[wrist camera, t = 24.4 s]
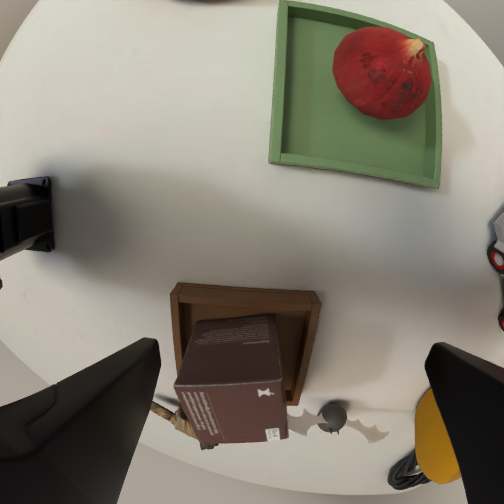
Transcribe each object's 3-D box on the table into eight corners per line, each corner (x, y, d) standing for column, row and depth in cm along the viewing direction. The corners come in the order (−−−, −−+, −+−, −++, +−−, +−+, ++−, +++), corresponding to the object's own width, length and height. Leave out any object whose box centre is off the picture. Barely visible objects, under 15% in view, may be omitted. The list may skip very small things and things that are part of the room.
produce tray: (268, 163, 17) (269, 161, 15) (277, 13, 14) (279, -1, 12) (424, 186, 17) (439, 189, 15) (421, 50, 14) (434, 42, 12)
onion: (393, 136, 16) (467, 123, 8) (316, 117, 16) (361, 78, 8) (395, 67, 14) (457, 28, 7) (322, 45, 14) (358, -17, 6)
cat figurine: (222, 430, 24) (211, 456, 20) (155, 395, 25) (137, 417, 21) (231, 416, 23) (220, 444, 19) (160, 379, 24) (140, 402, 20)
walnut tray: (184, 382, 22) (180, 397, 20) (177, 282, 20) (169, 293, 18) (295, 389, 23) (298, 405, 21) (315, 291, 20) (321, 303, 18)
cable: (407, 479, 32) (413, 494, 28) (363, 482, 30) (368, 500, 26) (471, 426, 28) (481, 441, 23) (439, 423, 26) (450, 442, 22)
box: (195, 318, 20) (170, 383, 13) (275, 310, 20) (284, 378, 12) (211, 377, 21) (198, 444, 14) (281, 372, 21) (289, 441, 14)
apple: (393, 434, 26) (423, 507, 13) (404, 383, 23) (454, 473, 10) (458, 404, 25) (496, 463, 12) (477, 348, 22) (535, 411, 10)
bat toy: (268, 381, 22) (270, 420, 18) (387, 407, 24) (401, 436, 19) (254, 401, 23) (254, 439, 18) (371, 423, 25) (383, 452, 20)
